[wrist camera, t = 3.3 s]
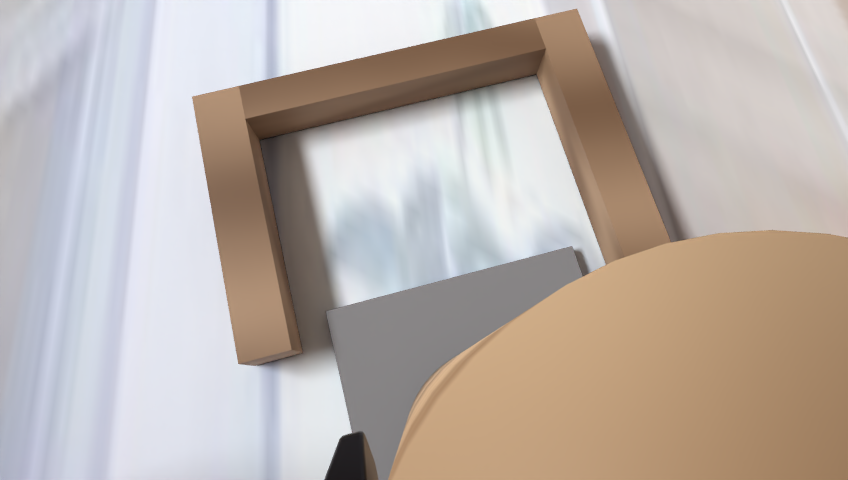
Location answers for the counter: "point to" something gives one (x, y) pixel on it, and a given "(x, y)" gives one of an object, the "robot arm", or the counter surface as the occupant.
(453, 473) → the pepper mill
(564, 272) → the slate mat
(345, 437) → the robot arm
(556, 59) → the walnut frame
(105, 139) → the counter surface
